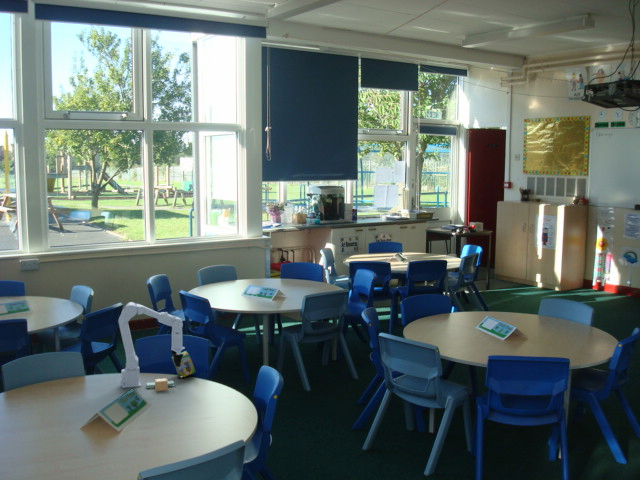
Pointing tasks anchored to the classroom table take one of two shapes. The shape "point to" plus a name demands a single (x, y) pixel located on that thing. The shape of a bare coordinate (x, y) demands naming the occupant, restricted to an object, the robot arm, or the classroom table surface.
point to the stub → (161, 384)
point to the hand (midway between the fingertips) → (177, 364)
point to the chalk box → (185, 365)
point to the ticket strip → (152, 385)
